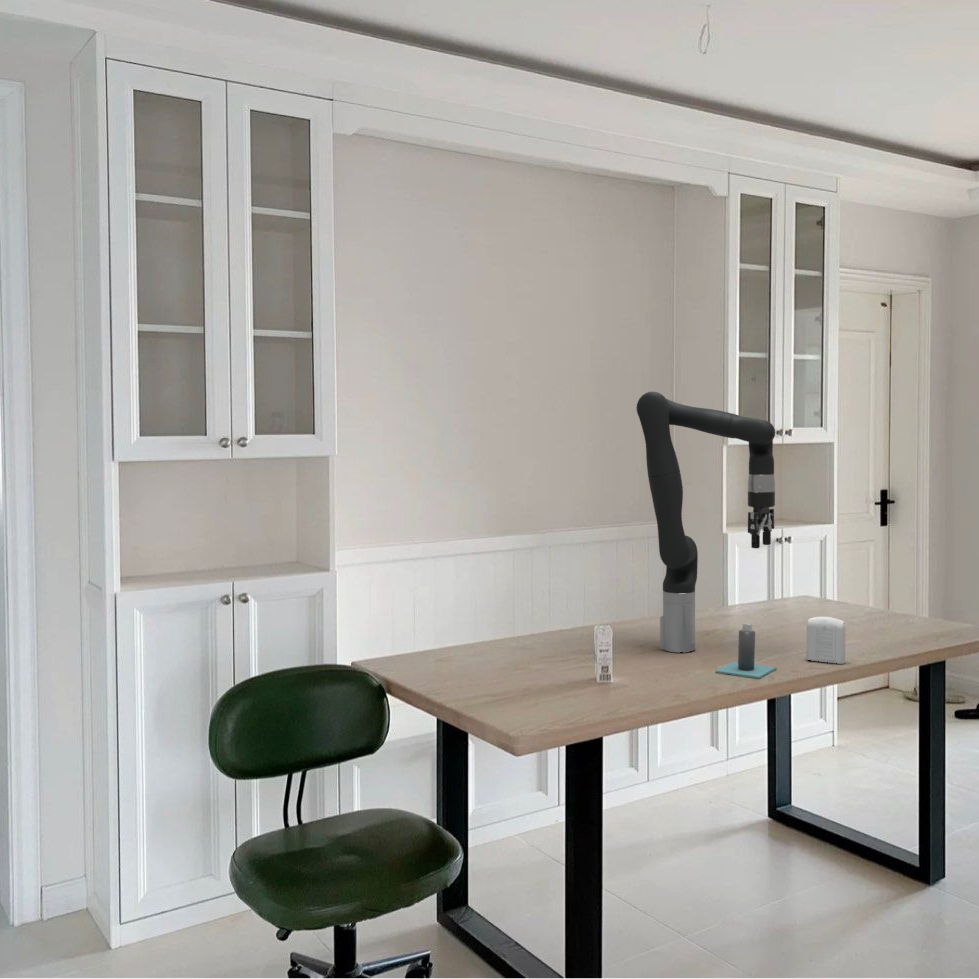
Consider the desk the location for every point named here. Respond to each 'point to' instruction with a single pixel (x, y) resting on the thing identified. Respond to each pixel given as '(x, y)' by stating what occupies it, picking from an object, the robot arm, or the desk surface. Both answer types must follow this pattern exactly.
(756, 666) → the teal mat
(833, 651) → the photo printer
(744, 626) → the grey capped bottle
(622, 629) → the desk surface
